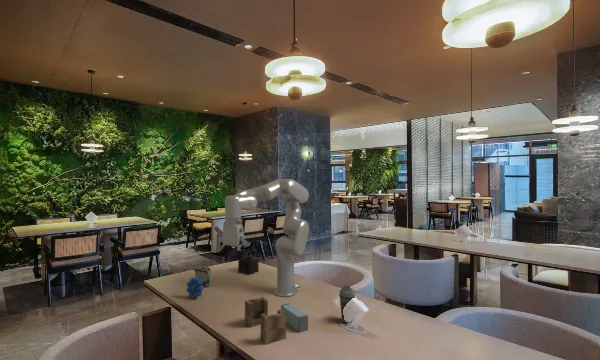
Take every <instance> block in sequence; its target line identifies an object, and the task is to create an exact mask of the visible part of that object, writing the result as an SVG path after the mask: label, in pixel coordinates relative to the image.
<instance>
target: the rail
mask: <svg viewBox="0 0 600 360" xmlns="http://www.w3.org/2000/svg"><path fill="white" fill-rule="evenodd" d="M280 308H281V309H280V310H282V311H283V312H285V313H286V324H288V325H289V326H291V327H292V328H293V329H295V331H297V332H298V333H304V332H306V331H308V330H309V315H308V314H306V313H304V312H302V311H301V310H300V309H298V308H296V306H293V305H292V304H290V303H289V302H288V303H284V304H281V305H280Z"/></svg>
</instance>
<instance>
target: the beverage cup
mask: <svg viewBox="0 0 600 360" xmlns="http://www.w3.org/2000/svg"><path fill="white" fill-rule="evenodd" d="M344 279H345V281H344V282H345V286H342V288H341V289H340V290H339V294H338V296H339V303H340V313H341V314H340V316H341V322H342V321H344V322H345V320H344V315H343V309H344V307H345V306H346V304H347V303H348V302H349V301H350V300H351V299H352V298H356V293H355V290H354V288H353V287H351V286H350V285H349V286H348V282H347V275H345V276H344ZM344 322H343V323H344Z"/></svg>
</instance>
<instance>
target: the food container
mask: <svg viewBox="0 0 600 360" xmlns="http://www.w3.org/2000/svg"><path fill="white" fill-rule="evenodd" d="M193 272H194V278H195V277H199V280H202V281H203V283H202V285H203V286H204V288H208V287H209V286H210V281H211V274H212V269H211V267H207V266H198V267H195V268H194V271H193Z"/></svg>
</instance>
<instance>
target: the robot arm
mask: <svg viewBox="0 0 600 360" xmlns="http://www.w3.org/2000/svg"><path fill="white" fill-rule="evenodd" d="M279 196H282V199H283V201H284V203H285V205H286V206H285V207H286V212H285V217H284V221H283V225H282V231H283V234H285V235H287V236H281V237H279V238H278V239H277V240H276V242H275V251H276V259H277V263H276V264H277V266H276V267H277V269H276V274H277V276H276V278H277V279H276V280H277V281H276V282H277V283H276V289H274V291H273V293H274V295H275V296H279V297H285V298H287V297H292V296H296V294H297V293H298V292H297V289H300V288H302V284H301V283H299V284H297V283H295V259H294V257H301V256H302V255H303V254H304V253H305V250H306V246H307V242H308V237H309V234H310V225H309V222H308V221H307V220H305V219H302V218H301V215H302V208H301V205H300V204H304V203H306V202H307V201H308V200H309V197H310V193H309V190H308V189H307V188H306V187H304V186H303V184H300V183H299V182H297V181H296V180H295V179H292V178H278V179H275V180H272V181H271V182H268V183H266V184H263V185H260V186H256V187H254V188H250V189H247V190H246V189H245V190H242V191H241V192H238V193H235V194H234V195H227V196H225V199H224V226H223V230H222V236H221V237H219V238H218V242H219V244H220V246H221V249H222V257H223V258H225V257H228V256H229V248H228V246H231V247H236V248H237V260H240V259H243V258H244V251H245V249H246V248H247V245H248V243H249V242H248V240H246V239H245V233H244V227H243V220H242V211H252V210H254V209H256V207H257V206H258V203H261V202H262V203H263V202H264V203H265V202H269V201H271V200H273V199H274V198H277V197H279ZM290 236H294V237H290Z"/></svg>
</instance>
